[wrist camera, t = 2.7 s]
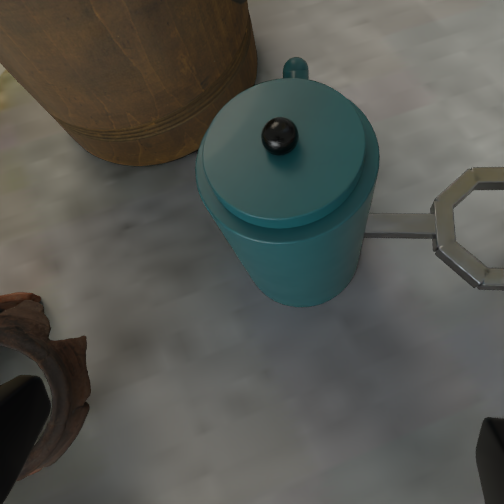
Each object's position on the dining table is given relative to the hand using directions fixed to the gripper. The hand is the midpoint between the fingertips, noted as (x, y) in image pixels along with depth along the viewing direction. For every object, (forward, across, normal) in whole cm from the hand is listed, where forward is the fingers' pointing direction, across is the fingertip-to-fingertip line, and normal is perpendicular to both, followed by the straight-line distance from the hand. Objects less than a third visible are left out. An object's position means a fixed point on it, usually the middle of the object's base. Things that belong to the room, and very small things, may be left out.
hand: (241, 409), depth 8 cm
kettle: (+16, -4, +3) cm, 17 cm away
